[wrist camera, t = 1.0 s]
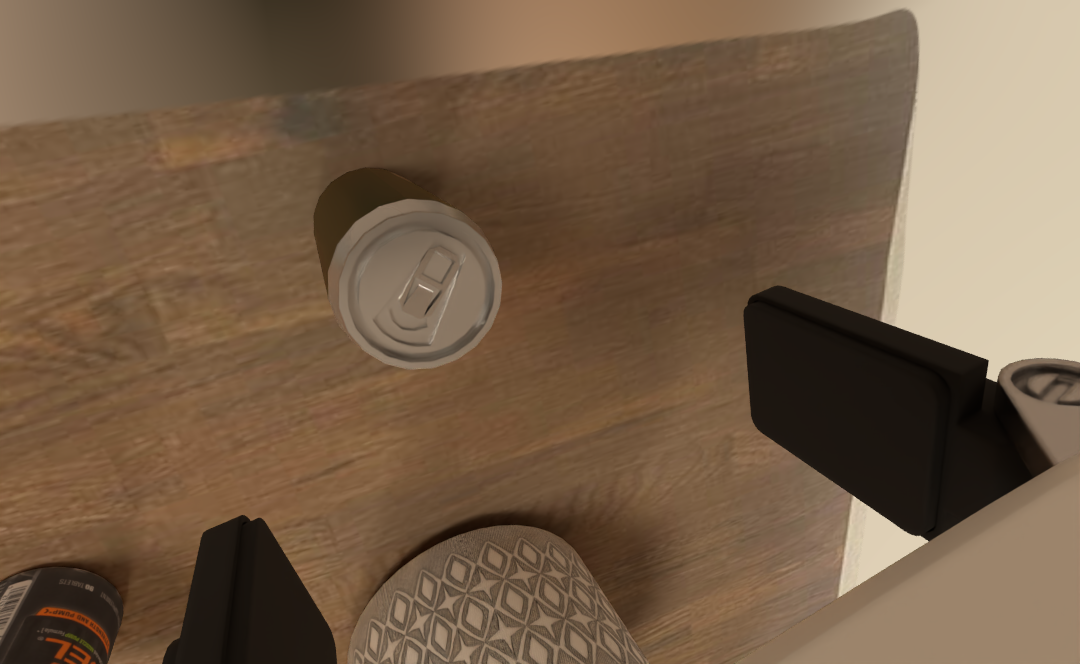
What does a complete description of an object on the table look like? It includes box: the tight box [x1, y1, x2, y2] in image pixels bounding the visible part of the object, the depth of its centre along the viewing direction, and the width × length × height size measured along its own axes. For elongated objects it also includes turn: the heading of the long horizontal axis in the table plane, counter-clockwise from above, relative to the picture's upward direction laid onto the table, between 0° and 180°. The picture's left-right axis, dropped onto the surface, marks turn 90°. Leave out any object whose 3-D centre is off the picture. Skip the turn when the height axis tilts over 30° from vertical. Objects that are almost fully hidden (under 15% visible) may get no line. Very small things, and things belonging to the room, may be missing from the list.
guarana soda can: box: [314, 168, 502, 369], centre depth 22 cm, size 5×5×12 cm
